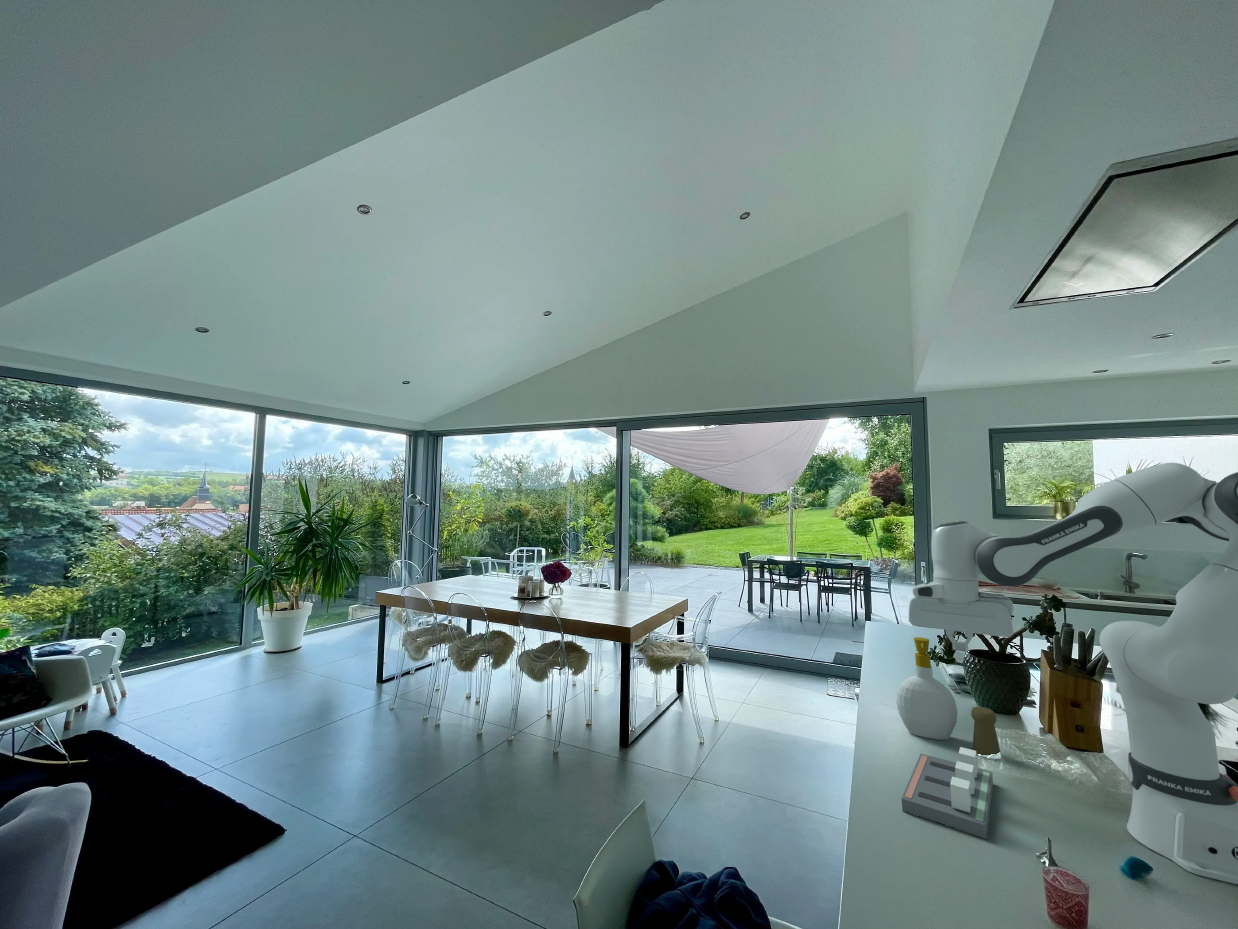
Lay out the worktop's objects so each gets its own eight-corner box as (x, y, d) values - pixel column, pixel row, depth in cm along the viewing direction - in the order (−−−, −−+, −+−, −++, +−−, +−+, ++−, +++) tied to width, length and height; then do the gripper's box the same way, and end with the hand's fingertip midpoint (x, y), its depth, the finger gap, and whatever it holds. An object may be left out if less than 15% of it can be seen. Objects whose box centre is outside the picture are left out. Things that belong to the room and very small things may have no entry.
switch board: (993, 783, 111) (992, 771, 111) (986, 839, 93) (985, 824, 93) (921, 764, 120) (920, 753, 120) (902, 811, 102) (901, 797, 102)
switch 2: (971, 804, 99) (969, 781, 99) (970, 813, 96) (968, 789, 97) (953, 799, 101) (952, 776, 101) (951, 807, 98) (950, 784, 99)
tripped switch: (975, 787, 105) (973, 765, 105) (973, 794, 102) (972, 772, 103) (958, 782, 107) (956, 761, 107) (956, 789, 104) (955, 767, 105)
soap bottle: (898, 737, 134) (891, 639, 137) (898, 724, 142) (892, 632, 144) (961, 749, 127) (953, 645, 129) (958, 735, 135) (950, 638, 137)
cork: (1007, 760, 121) (1003, 714, 122) (979, 758, 122) (975, 712, 123) (993, 749, 127) (990, 704, 128) (967, 747, 128) (964, 703, 129)
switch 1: (977, 771, 111) (976, 750, 112) (976, 778, 108) (974, 757, 109) (961, 767, 113) (960, 747, 114) (960, 773, 110) (958, 753, 111)
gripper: (1012, 592, 112) (1017, 655, 111) (910, 585, 125) (913, 640, 124) (1011, 596, 107) (1017, 662, 106) (905, 588, 120) (909, 646, 119)
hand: (960, 650), depth 115 cm, fingers closed
